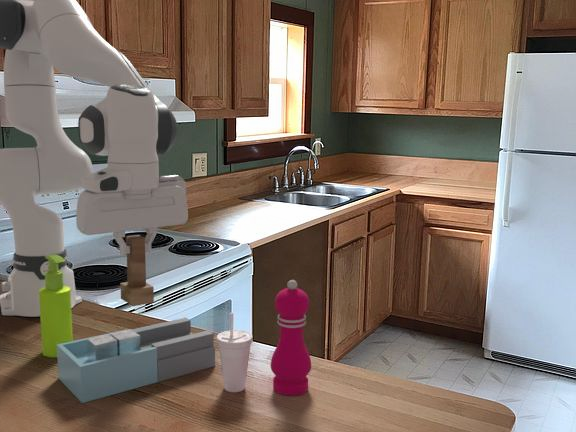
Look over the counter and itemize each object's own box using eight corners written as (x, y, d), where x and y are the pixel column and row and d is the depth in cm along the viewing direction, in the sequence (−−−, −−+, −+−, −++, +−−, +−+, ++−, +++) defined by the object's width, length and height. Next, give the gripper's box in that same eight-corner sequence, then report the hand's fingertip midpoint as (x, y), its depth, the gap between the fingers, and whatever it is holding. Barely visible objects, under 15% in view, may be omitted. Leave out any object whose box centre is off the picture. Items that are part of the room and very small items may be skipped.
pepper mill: (307, 399, 109) (309, 287, 105) (266, 394, 110) (267, 284, 107) (313, 381, 116) (316, 276, 112) (275, 377, 117) (276, 273, 114)
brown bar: (120, 298, 118) (118, 235, 115) (140, 295, 120) (139, 233, 118) (133, 306, 113) (131, 240, 111) (153, 302, 116) (152, 238, 114)
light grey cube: (87, 359, 114) (86, 338, 114) (109, 354, 117) (108, 333, 116) (96, 366, 111) (95, 345, 111) (117, 361, 114) (117, 340, 113)
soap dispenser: (51, 361, 123) (45, 261, 119) (38, 351, 128) (32, 254, 124) (80, 354, 127) (75, 257, 123) (66, 344, 132) (61, 250, 128)
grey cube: (111, 354, 117) (110, 333, 116) (131, 349, 119) (131, 329, 119) (120, 361, 114) (119, 340, 113) (140, 356, 116) (140, 335, 115)
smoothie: (212, 383, 115) (211, 309, 112) (245, 377, 117) (245, 305, 115) (222, 398, 109) (222, 320, 106) (257, 392, 111) (258, 316, 109)
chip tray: (58, 378, 116) (56, 344, 114) (130, 360, 124) (129, 328, 123) (81, 403, 106) (80, 366, 105) (157, 382, 115) (156, 348, 114)
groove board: (130, 360, 124) (129, 328, 123) (185, 346, 131) (184, 316, 130) (158, 382, 115) (157, 348, 114) (215, 366, 122) (214, 334, 121)
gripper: (177, 172, 121) (178, 243, 124) (71, 179, 109) (74, 257, 112) (193, 176, 116) (194, 249, 119) (84, 183, 104) (87, 264, 107)
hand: (135, 253), depth 115 cm, fingers closed on brown bar, 2 cm apart
